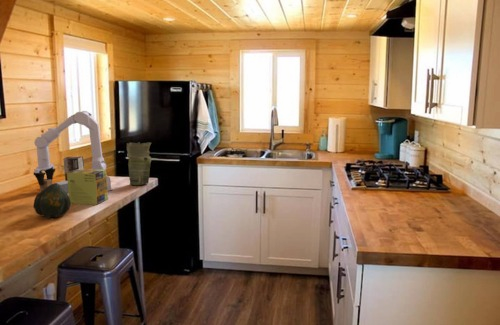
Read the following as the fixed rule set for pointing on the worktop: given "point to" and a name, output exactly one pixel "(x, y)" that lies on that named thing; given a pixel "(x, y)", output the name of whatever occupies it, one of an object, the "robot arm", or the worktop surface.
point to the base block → (63, 185)
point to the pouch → (139, 163)
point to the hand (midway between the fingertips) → (45, 183)
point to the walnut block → (45, 184)
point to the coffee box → (72, 164)
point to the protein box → (87, 186)
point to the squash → (52, 201)
